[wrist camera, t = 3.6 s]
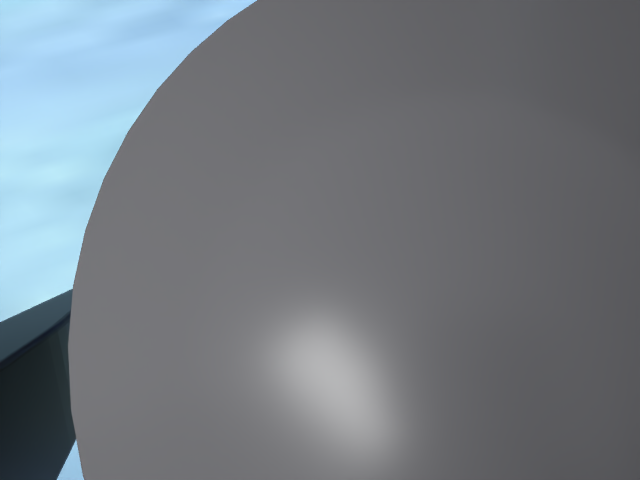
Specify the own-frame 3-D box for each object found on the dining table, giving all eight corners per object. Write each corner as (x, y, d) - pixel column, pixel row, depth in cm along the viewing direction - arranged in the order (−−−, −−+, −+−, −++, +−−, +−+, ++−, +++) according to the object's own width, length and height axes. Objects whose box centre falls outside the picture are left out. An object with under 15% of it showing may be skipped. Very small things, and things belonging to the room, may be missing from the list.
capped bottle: (486, 391, 15) (1133, 215, 3) (380, 551, 14) (785, 1281, 2) (342, 283, 16) (414, -170, 4) (232, 424, 15) (-137, 372, 3)
